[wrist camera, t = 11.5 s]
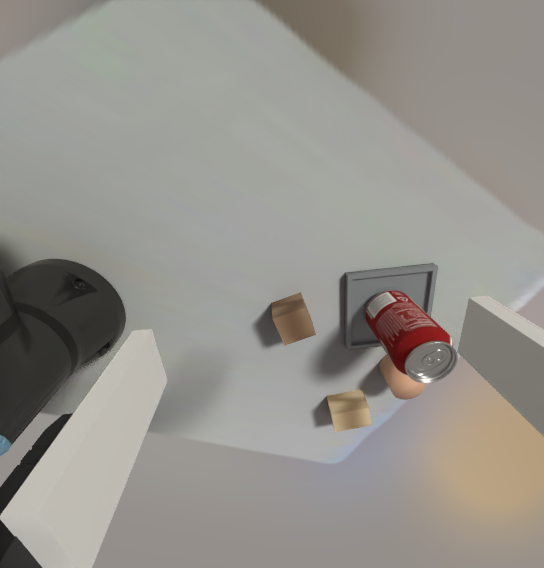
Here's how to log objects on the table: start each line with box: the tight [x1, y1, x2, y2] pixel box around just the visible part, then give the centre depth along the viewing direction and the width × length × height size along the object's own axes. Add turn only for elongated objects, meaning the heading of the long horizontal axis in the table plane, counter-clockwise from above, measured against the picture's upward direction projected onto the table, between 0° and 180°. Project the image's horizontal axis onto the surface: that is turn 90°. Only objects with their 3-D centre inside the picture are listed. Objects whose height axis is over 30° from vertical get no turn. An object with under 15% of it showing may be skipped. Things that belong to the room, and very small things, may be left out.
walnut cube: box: [271, 292, 316, 345], centre depth 40 cm, size 4×4×4 cm
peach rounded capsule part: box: [379, 355, 426, 399], centre depth 44 cm, size 5×5×5 cm
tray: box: [345, 263, 438, 350], centre depth 42 cm, size 12×12×1 cm
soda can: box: [365, 290, 457, 383], centre depth 36 cm, size 7×7×12 cm
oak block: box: [327, 390, 371, 432], centre depth 48 cm, size 6×4×4 cm, turn 103°
